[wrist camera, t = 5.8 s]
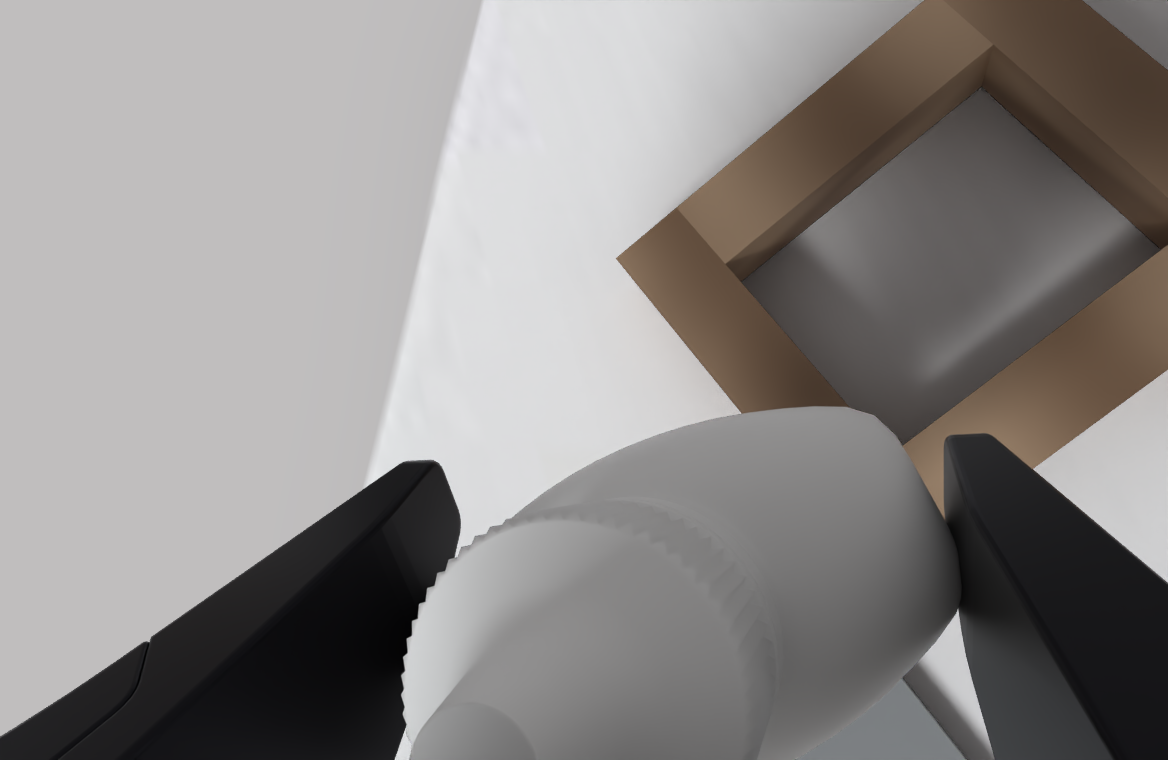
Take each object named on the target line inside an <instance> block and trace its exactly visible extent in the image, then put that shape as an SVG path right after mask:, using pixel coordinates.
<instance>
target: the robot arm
mask: <svg viewBox="0 0 1168 760" xmlns="http://www.w3.org/2000/svg"><path fill="white" fill-rule="evenodd" d="M944 513H945V521H946V523H947V525H948V528H949V530H950V532H951V534H952V536H953V539H954V541H955V544H956V547H957V551H958V556H959V565H960V574H961V582H962V593H961V600H960V603H959V606H958V610H959V617H960V624H961V631H962V636H963V642H964V647H965V653H966V657H967V661H968V665H969V669H970V673H971V677H972V681H973V684H974V688H975V691H976V695H977V698H978V702H979V705H980V709H981V712H982V716H983V719H984V723H985V726H986V729H987V733H988V736H989V740H990V743H991V747H992V750H993V754H994V757H995V760H1168V583H1167V582H1166V581H1165V580H1164V579H1163V578H1161V577H1160V576H1159V575H1158V574H1157V573H1155V572H1154V571H1153V570H1152V569H1151V568H1149V567H1148V566H1147V565H1146V564H1145V563H1144V562H1142V561H1141V560H1140V559H1139V558H1138V557H1136V556H1135V555H1134V554H1133V553H1132V552H1130V551H1129V550H1128V549H1127V548H1126V547H1125V546H1123V545H1122V544H1121V543H1120V542H1119V541H1117V540H1116V539H1115V538H1114V537H1113V536H1111V535H1110V534H1109V533H1108V532H1107V531H1105V530H1104V529H1103V528H1102V527H1101V526H1100V525H1098V524H1097V523H1096V522H1095V521H1094V520H1092V519H1091V518H1090V517H1089V516H1088V515H1086V514H1085V513H1084V512H1083V511H1082V510H1081V509H1079V508H1078V507H1077V506H1076V505H1075V504H1073V503H1072V502H1071V501H1070V500H1069V499H1067V498H1066V497H1065V496H1064V495H1063V494H1062V493H1060V492H1059V491H1058V490H1057V489H1056V488H1054V487H1053V486H1052V485H1051V484H1050V483H1048V482H1047V481H1046V480H1045V479H1044V478H1043V477H1041V476H1040V475H1039V474H1038V473H1037V472H1035V471H1034V470H1033V469H1032V468H1031V467H1029V466H1028V465H1027V464H1026V463H1025V462H1024V461H1022V460H1021V459H1020V458H1019V457H1018V456H1016V455H1015V454H1014V453H1013V452H1012V451H1010V450H1009V449H1008V448H1007V447H1006V446H1004V445H1003V444H1002V443H1001V442H1000V441H999V440H997V439H996V438H995V437H994V436H992V435H990V434H987V433H975V434H955V435H949V436H948V437H946V439H945V441H944ZM460 529H461V519H460V514H459V510H458V507H457V505H456V502H455V499H454V497H453V494H452V492H451V489H450V486H449V484H448V481H447V478H446V476H445V473H444V471H443V469H442V467H441V465H440V464H439V463H438V462H436V461H434V460H417V461H405V462H402V463H401V464H399V465H398V466H396V467H395V468H393V469H392V470H390V471H389V472H388V473H386V474H385V475H383V476H382V477H380V478H379V479H378V480H376V481H375V482H373V483H372V484H370V485H369V486H367V487H366V488H365V489H363V490H362V491H361V492H359V493H357V494H356V495H355V496H353V497H352V498H350V499H349V500H347V501H346V502H344V503H343V504H342V505H340V506H339V507H337V508H336V509H334V510H333V511H332V512H330V513H329V514H327V515H326V516H324V517H323V518H321V519H320V520H319V521H317V522H316V523H314V524H313V525H312V526H310V527H309V528H307V529H306V530H304V531H303V532H302V533H300V534H298V535H297V536H296V537H294V538H293V539H291V540H290V541H288V542H287V543H286V544H284V545H283V546H281V547H280V548H278V549H277V550H275V551H274V552H273V553H271V554H270V555H268V556H267V557H265V558H264V559H263V560H261V561H260V562H258V563H257V564H255V565H254V566H253V567H251V568H250V569H248V570H247V571H245V572H244V573H243V574H241V575H240V576H238V577H237V578H235V579H234V580H232V581H231V582H229V583H228V584H227V585H225V586H224V587H222V588H221V589H219V590H218V591H217V592H215V593H214V594H212V595H211V596H209V597H208V598H206V599H205V600H204V601H202V602H201V603H199V604H198V605H197V606H195V607H194V608H192V609H191V610H189V611H188V612H186V613H185V614H183V615H182V616H181V617H179V618H178V619H176V620H175V621H173V622H172V623H171V624H169V625H168V626H166V627H165V628H163V629H162V630H160V631H159V632H158V633H156V634H155V635H153V636H152V637H151V639H150V642H143V643H141V644H140V645H139V646H137V647H136V648H134V649H133V650H131V651H130V652H129V653H127V654H126V655H124V656H123V657H121V658H120V659H119V660H117V661H116V662H114V663H113V664H111V665H110V666H108V667H107V668H105V669H104V670H102V671H101V672H99V673H98V674H97V675H95V676H94V677H92V678H91V679H89V680H88V681H86V682H85V683H83V684H82V685H80V686H79V687H77V688H76V689H74V690H73V691H71V692H70V693H68V694H67V695H65V696H64V697H62V698H61V699H59V700H57V701H56V702H54V703H53V704H51V705H50V706H48V707H46V708H45V709H44V710H42V711H40V712H39V713H37V714H35V715H34V716H33V717H31V718H29V719H28V720H26V721H24V722H23V723H21V724H20V725H18V726H17V727H15V728H13V729H12V730H10V731H9V732H7V733H5V734H4V735H2V736H0V760H395V757H396V754H397V751H398V748H399V745H400V742H401V739H402V737H403V734H404V731H405V728H406V725H407V724H406V722H405V719H404V717H403V711H404V708H405V706H404V703H403V700H402V697H401V694H402V692H403V690H404V686H403V682H402V677H401V675H402V674H403V673H404V672H405V666H404V660H403V657H404V656H405V655H406V654H407V653H408V649H407V638H409V637H411V636H412V621H413V620H416V619H418V610H419V604H420V603H423V602H426V594H427V588H429V587H432V586H435V582H436V577H437V573H439V572H443V571H445V570H446V567H447V563H448V560H449V559H452V558H454V557H455V553H456V548H457V544H458V540H459V535H460Z"/></svg>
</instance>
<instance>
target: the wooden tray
mask: <svg viewBox="0 0 1168 760" xmlns="http://www.w3.org/2000/svg"><path fill="white" fill-rule="evenodd" d="M980 87H982V88H983V89H985V90H986V91H987V92H988V93H989V94H990V95H991V96H992V97H993V98H994V99H996V100H997V101H998V102H999V103H1000V104H1001V105H1002V106H1003V107H1004V108H1005V109H1007V110H1008V111H1009V112H1010V113H1011V114H1012V115H1013V116H1014V117H1015V118H1017V119H1018V120H1019V121H1020V122H1021V123H1022V124H1023V125H1024V126H1025V127H1026V128H1028V129H1029V130H1030V131H1031V132H1032V133H1033V134H1034V135H1035V136H1036V137H1037V138H1039V139H1040V140H1041V141H1042V142H1043V143H1044V144H1045V145H1046V146H1047V147H1049V148H1050V149H1051V150H1052V151H1053V152H1054V153H1055V154H1056V155H1057V156H1058V157H1060V158H1061V159H1062V160H1063V161H1064V162H1065V163H1066V164H1067V165H1068V166H1069V167H1071V168H1072V169H1073V170H1074V171H1075V172H1076V173H1077V174H1078V175H1079V176H1081V177H1082V178H1083V179H1084V180H1085V181H1086V182H1087V183H1088V184H1089V185H1090V186H1092V187H1093V188H1094V189H1095V190H1096V191H1097V192H1098V193H1099V194H1100V195H1101V196H1103V197H1104V198H1105V199H1106V200H1107V201H1108V202H1109V203H1110V204H1111V205H1113V206H1114V207H1115V208H1116V209H1117V210H1118V211H1119V212H1120V213H1121V214H1122V215H1124V216H1125V217H1126V218H1127V219H1128V220H1129V221H1130V222H1131V223H1132V224H1133V225H1135V226H1136V227H1137V228H1138V229H1139V230H1140V231H1141V232H1142V233H1143V234H1144V235H1146V236H1147V237H1148V238H1149V239H1150V240H1151V241H1152V242H1153V243H1154V244H1156V245H1157V246H1158V247H1159V248H1160V249H1161V250H1160V251H1159V252H1158V253H1156V254H1155V255H1154V256H1152V257H1151V258H1150V259H1148V260H1147V261H1146V262H1145V263H1143V264H1142V265H1141V266H1139V267H1138V268H1137V269H1135V270H1134V271H1133V272H1131V273H1130V274H1129V275H1127V276H1126V277H1125V278H1123V279H1122V280H1121V281H1119V282H1118V283H1117V284H1115V285H1114V286H1113V287H1112V288H1110V289H1109V290H1108V291H1106V292H1105V293H1104V294H1102V295H1101V296H1100V297H1098V298H1097V299H1096V300H1094V301H1093V302H1092V303H1090V304H1089V305H1088V306H1086V307H1085V308H1084V309H1083V310H1081V311H1080V312H1079V313H1077V314H1076V315H1075V316H1073V317H1072V318H1071V319H1069V320H1068V321H1067V322H1065V323H1064V324H1063V325H1061V326H1060V327H1059V328H1057V329H1056V330H1055V331H1053V332H1052V333H1051V334H1050V335H1048V336H1047V337H1046V338H1044V339H1043V340H1042V341H1040V342H1039V343H1038V344H1036V345H1035V346H1034V347H1032V348H1031V349H1030V350H1028V351H1027V352H1026V353H1024V354H1023V355H1022V356H1020V357H1019V358H1018V359H1017V360H1015V361H1014V362H1013V363H1011V364H1010V365H1009V366H1007V367H1006V368H1005V369H1003V370H1002V371H1001V372H999V373H998V374H997V375H995V376H994V377H993V378H991V379H990V380H989V381H987V382H986V383H985V384H984V385H982V386H981V387H980V388H978V389H977V390H976V391H974V392H973V393H972V394H970V395H969V396H968V397H966V398H965V399H964V400H962V401H961V402H960V403H958V404H957V405H956V406H954V407H953V408H952V409H951V410H949V411H948V412H947V413H945V414H944V415H943V416H941V417H940V418H939V419H937V420H936V421H935V422H933V423H932V424H931V425H929V426H928V427H927V428H925V429H924V430H923V431H922V432H920V433H919V434H918V435H916V436H915V437H914V438H912V439H911V440H910V441H908V442H907V443H906V444H904V445H903V448H904V449H905V451H906V453H907V454H908V456H909V457H910V459H911V461H912V462H913V464H914V466H915V468H916V469H917V471H918V473H919V475H920V476H921V478H922V480H923V482H924V483H925V485H926V487H927V489H928V491H929V492H930V494H931V496H932V498H933V500H934V501H935V503H936V505H937V507H938V509H939V511H940V512H941V514H942V516H943V518H944V520H945V513H944V441H945V439H946V437H948V436H949V435H955V434H975V433H987V434H990V435H992V436H994V437H995V438H996V439H997V440H999V441H1000V442H1001V443H1002V444H1003V445H1004V446H1006V447H1007V448H1008V449H1009V450H1010V451H1012V452H1013V453H1014V454H1015V455H1016V456H1018V457H1019V458H1020V459H1021V460H1022V461H1024V462H1025V463H1026V464H1027V465H1028V466H1029V467H1031V468H1032V469H1033V468H1035V467H1036V466H1037V465H1039V464H1040V463H1041V462H1043V461H1044V460H1046V459H1047V458H1048V457H1050V456H1051V455H1052V454H1054V453H1055V452H1056V451H1058V450H1059V449H1060V448H1062V447H1063V446H1065V445H1066V444H1067V443H1069V442H1070V441H1071V440H1073V439H1074V438H1075V437H1077V436H1078V435H1079V434H1081V433H1082V432H1084V431H1085V430H1086V429H1088V428H1089V427H1090V426H1092V425H1093V424H1094V423H1096V422H1097V421H1099V420H1100V419H1101V418H1103V417H1104V416H1105V415H1107V414H1108V413H1109V412H1111V411H1112V410H1113V409H1115V408H1116V407H1118V406H1119V405H1120V404H1122V403H1123V402H1124V401H1126V400H1127V399H1128V398H1130V397H1131V396H1132V395H1134V394H1135V393H1137V392H1138V391H1139V390H1141V389H1142V388H1143V387H1145V386H1146V385H1147V384H1149V383H1150V382H1152V381H1153V380H1154V379H1156V378H1157V377H1158V376H1160V375H1161V374H1162V373H1164V372H1165V371H1166V370H1168V70H1167V69H1166V68H1164V67H1163V66H1162V65H1161V64H1159V63H1158V62H1157V61H1156V60H1155V59H1153V58H1152V57H1151V56H1150V55H1148V54H1147V53H1146V52H1145V51H1144V50H1142V49H1141V48H1140V47H1139V46H1137V45H1136V44H1135V43H1134V42H1133V41H1131V40H1130V39H1129V38H1128V37H1126V36H1125V35H1124V34H1123V33H1122V32H1120V31H1119V30H1118V29H1117V28H1115V27H1114V26H1113V25H1112V24H1111V23H1109V22H1108V21H1107V20H1106V19H1104V18H1103V17H1102V16H1101V15H1100V14H1098V13H1097V12H1096V11H1095V10H1093V9H1092V8H1091V7H1090V6H1089V5H1087V4H1086V3H1085V2H1084V1H1082V0H924V1H923V2H922V3H921V4H919V5H918V6H917V7H916V8H915V9H913V10H912V11H911V12H910V13H909V14H907V15H906V16H905V17H904V18H903V19H901V20H900V21H899V22H898V23H897V24H895V25H894V26H893V27H892V28H891V29H890V30H888V31H887V32H886V33H885V34H884V35H882V36H881V37H880V38H879V39H878V40H876V41H875V42H874V43H873V44H872V45H870V46H869V47H868V48H867V49H866V50H864V51H863V52H862V53H861V54H860V55H858V56H857V57H856V58H855V59H854V60H852V61H851V62H850V63H849V64H848V65H846V66H845V67H844V68H843V69H842V70H841V71H839V72H838V73H837V74H836V75H835V76H833V77H832V78H831V79H830V80H829V81H827V82H826V83H825V84H824V85H823V86H821V87H820V88H819V89H818V90H817V91H815V92H814V93H813V94H812V95H811V96H809V97H808V98H807V99H806V100H805V101H803V102H802V103H801V104H800V105H799V106H797V107H796V108H795V109H794V110H793V111H792V112H790V113H789V114H788V115H787V116H786V117H784V118H783V119H782V120H781V121H780V122H778V123H777V124H776V125H775V126H774V127H772V128H771V129H770V130H769V131H768V132H766V133H765V134H764V135H763V136H762V137H760V138H759V139H758V140H757V141H756V142H754V143H753V144H752V145H751V146H750V147H748V148H747V149H746V150H745V151H744V152H742V153H741V154H740V155H739V156H738V157H737V158H735V159H734V160H733V161H732V162H731V163H729V164H728V165H727V166H726V167H725V168H723V169H722V170H721V171H720V172H719V173H717V174H716V175H715V176H714V177H713V178H711V179H710V180H709V181H708V182H707V183H705V184H704V185H703V186H702V187H701V188H699V189H698V190H697V191H696V192H695V193H693V194H692V195H691V196H690V197H689V198H688V199H686V200H685V201H684V202H683V203H682V204H680V205H679V206H678V207H677V208H676V209H674V210H673V211H672V212H671V213H670V214H668V215H667V216H666V217H665V218H664V219H662V220H661V221H660V222H659V223H658V224H656V225H655V226H654V227H653V228H652V229H650V230H649V231H648V232H647V233H646V234H644V235H643V236H642V237H641V238H640V239H639V240H637V241H636V242H635V243H634V244H633V245H631V246H630V247H629V248H628V249H627V250H625V251H624V252H623V253H622V254H621V255H619V256H618V257H617V258H616V259H617V260H618V262H619V263H620V264H621V265H622V267H623V268H624V269H625V270H626V271H627V273H628V274H629V275H630V276H631V278H632V279H633V280H634V281H635V283H636V284H637V285H638V286H639V287H640V289H641V290H642V291H643V292H644V294H645V295H646V296H647V297H648V299H649V300H650V301H651V302H652V303H653V305H654V306H655V307H656V308H657V310H658V311H659V312H660V313H661V315H662V316H663V317H664V318H665V319H666V321H667V322H668V323H669V324H670V326H671V327H672V328H673V329H674V331H675V332H676V333H677V334H678V335H679V337H680V338H681V339H682V340H683V342H684V343H685V344H686V345H687V347H688V348H689V349H690V350H691V351H692V353H693V354H694V355H695V356H696V358H697V359H698V360H699V361H700V363H701V364H702V365H703V366H704V367H705V369H706V370H707V371H708V372H709V374H710V375H711V376H712V377H713V379H714V380H715V381H716V382H717V383H718V385H719V386H720V387H721V388H722V390H723V391H724V392H725V393H726V395H727V396H728V397H729V398H730V399H731V401H732V402H733V403H734V404H735V406H736V407H737V408H738V409H739V411H740V412H741V413H742V414H743V413H750V412H758V411H766V410H774V409H783V408H797V407H811V406H826V407H848V408H850V407H849V406H848V405H847V404H846V403H845V401H844V400H843V399H842V398H841V397H840V396H839V394H838V393H837V392H836V391H835V390H834V389H833V388H832V386H831V385H830V384H829V383H828V382H827V381H826V379H825V378H824V377H823V376H822V375H821V374H820V373H819V371H818V370H817V369H816V368H815V367H814V366H813V364H812V363H811V362H810V361H809V360H808V359H807V358H806V356H805V355H804V354H803V353H802V352H801V351H800V350H799V348H798V347H797V346H796V345H795V344H794V343H793V341H792V340H791V339H790V338H789V337H788V336H787V335H786V333H785V332H784V331H783V330H782V329H781V328H780V326H779V325H778V324H777V323H776V322H775V321H774V320H773V318H772V317H771V316H770V315H769V314H768V313H767V311H766V310H765V309H764V308H763V307H762V306H761V305H760V303H759V302H758V301H757V300H756V299H755V298H754V296H753V295H752V294H751V293H750V292H749V291H748V290H747V288H746V287H745V286H744V285H743V284H742V283H741V281H743V280H744V279H745V278H746V277H748V276H749V275H750V274H751V273H752V272H754V271H755V270H756V269H757V268H759V267H760V266H761V265H762V264H764V263H765V262H766V261H767V260H768V259H770V258H771V257H772V256H773V255H775V254H776V253H777V252H778V251H780V250H781V249H782V248H783V247H784V246H786V245H787V244H788V243H789V242H791V241H792V240H793V239H794V238H796V237H797V236H798V235H799V234H800V233H802V232H803V231H804V230H805V229H807V228H808V227H809V226H810V225H812V224H813V223H814V222H815V221H816V220H818V219H819V218H820V217H821V216H823V215H824V214H825V213H826V212H828V211H829V210H830V209H831V208H832V207H834V206H835V205H836V204H837V203H839V202H840V201H841V200H842V199H844V198H845V197H846V196H847V195H848V194H850V193H851V192H852V191H853V190H855V189H856V188H857V187H858V186H860V185H861V184H862V183H863V182H864V181H866V180H867V179H868V178H869V177H871V176H872V175H873V174H874V173H876V172H877V171H878V170H879V169H880V168H882V167H883V166H884V165H885V164H887V163H888V162H889V161H890V160H892V159H893V158H894V157H895V156H896V155H898V154H899V153H900V152H901V151H903V150H904V149H905V148H906V147H908V146H909V145H910V144H911V143H912V142H914V141H915V140H916V139H917V138H919V137H920V136H921V135H922V134H924V133H925V132H926V131H927V130H928V129H930V128H931V127H932V126H933V125H935V124H936V123H937V122H938V121H940V120H941V119H942V118H943V117H944V116H946V115H947V114H948V113H949V112H951V111H952V110H953V109H954V108H956V107H957V106H958V105H959V104H960V103H962V102H963V101H964V100H965V99H967V98H968V97H969V96H970V95H972V94H973V93H974V92H975V91H976V90H978V89H979V88H980Z"/></svg>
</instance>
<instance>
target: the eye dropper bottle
mask: <svg viewBox="0 0 1168 760" xmlns="http://www.w3.org/2000/svg"><path fill="white" fill-rule="evenodd" d="M961 593H962V582H961V574H960V565H959V556H958V551H957V547H956V544H955V541H954V539H953V536H952V534H951V532H950V530H949V528H948V525H947V523H946V521H945V520H944V518H943V516H942V514H941V512H940V511H939V509H938V507H937V505H936V503H935V501H934V500H933V498H932V496H931V494H930V492H929V491H928V489H927V487H926V485H925V483H924V482H923V480H922V478H921V476H920V475H919V473H918V471H917V469H916V468H915V466H914V464H913V462H912V461H911V459H910V457H909V456H908V454H907V453H906V451H905V449H904V448H903V446H902V445H901V443H900V441H899V440H898V438H897V437H896V435H895V434H894V433H893V432H892V431H891V430H890V429H888V428H887V427H886V426H885V425H884V424H883V423H882V422H881V421H880V420H879V419H878V418H877V417H876V416H875V415H872V414H868V413H865V412H862V411H858V410H855V409H852V408H848V407H826V406H811V407H797V408H783V409H774V410H766V411H758V412H750V413H743V414H738V415H732V416H727V417H721V418H716V419H712V420H708V421H704V422H700V423H696V424H692V425H688V426H684V427H681V428H678V429H675V430H671V431H668V432H665V433H662V434H659V435H656V436H653V437H651V438H648V439H646V440H643V441H640V442H638V443H635V444H633V445H630V446H628V447H625V448H623V449H621V450H618V451H616V452H614V453H612V454H610V455H608V456H606V457H604V458H601V459H599V460H597V461H595V462H593V463H592V464H590V465H588V466H586V467H584V468H583V469H581V470H579V471H577V472H575V473H574V474H572V475H570V476H569V477H567V478H565V479H564V480H562V481H561V482H559V483H558V484H556V485H555V486H553V487H552V488H550V489H549V490H547V491H546V492H544V493H543V494H542V495H540V496H539V497H538V498H536V499H535V500H534V501H532V502H531V503H530V504H528V505H527V506H526V507H524V508H523V509H522V510H521V511H519V512H518V513H517V514H516V515H515V516H514V517H512V518H511V519H506V520H505V522H504V523H503V525H498V526H492V527H490V528H489V530H488V532H487V534H484V535H479V536H475V537H474V540H473V542H472V544H471V545H468V546H464V547H461V549H460V552H459V555H458V557H456V558H452V559H449V560H448V563H447V567H446V570H445V571H443V572H439V573H437V577H436V582H435V586H432V587H429V588H427V594H426V602H423V603H420V604H419V610H418V619H416V620H413V621H412V636H411V637H409V638H407V649H408V653H407V654H406V655H405V656H404V657H403V660H404V666H405V672H404V673H403V674H402V675H401V677H402V682H403V686H404V690H403V692H402V694H401V697H402V700H403V703H404V706H405V708H404V711H403V717H404V719H405V722H406V724H407V729H406V735H407V737H408V739H409V741H410V743H411V754H410V759H409V760H795V759H797V758H799V757H801V756H803V755H804V754H806V753H807V752H809V751H810V750H812V749H814V748H815V747H817V746H818V745H820V744H821V743H823V742H825V741H826V740H828V739H829V738H831V737H832V736H834V735H835V734H837V733H838V732H839V731H841V730H842V729H843V728H845V727H846V726H848V725H849V724H850V723H852V722H853V721H854V720H856V719H857V718H858V717H860V716H861V715H862V714H863V713H865V712H866V711H867V710H868V709H869V708H870V707H871V706H873V705H874V704H875V703H876V702H877V701H878V700H879V699H881V698H882V697H883V696H884V695H885V694H886V693H887V692H888V691H889V690H890V689H891V688H892V687H893V686H894V685H895V684H896V683H897V682H898V681H899V680H900V679H901V678H902V677H903V676H904V675H905V674H906V673H907V672H908V671H910V670H911V669H912V668H913V667H914V666H915V664H916V663H917V662H918V661H919V660H920V659H921V658H922V657H923V655H924V654H925V653H926V652H927V651H928V650H929V649H930V648H931V646H932V645H933V644H934V643H935V642H936V641H937V639H938V638H939V637H940V635H941V634H942V632H943V631H944V630H945V628H946V627H947V625H948V624H949V623H950V621H951V620H952V618H953V617H954V616H955V614H956V612H957V609H958V606H959V603H960V600H961Z"/></svg>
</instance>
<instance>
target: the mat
mask: <svg viewBox="0 0 1168 760" xmlns="http://www.w3.org/2000/svg"><path fill="white" fill-rule="evenodd" d="M795 760H967V758H966V757H965V756H964V755H963V753H962V752H961V751H960V750H959V748H958V747H957V746H956V745H955V743H954V742H953V741H952V739H951V738H950V737H949V736H948V734H947V733H946V732H945V731H944V729H943V728H942V727H941V726H940V724H939V723H938V722H937V720H936V719H935V718H934V717H933V715H932V714H931V713H930V712H929V710H928V709H927V708H926V707H925V705H924V704H923V703H922V701H921V700H920V699H919V698H918V696H917V695H916V694H915V693H914V691H913V690H912V689H911V688H910V686H909V685H908V684H907V682H906V681H905V680H904V679H903V677H902V678H901V679H900V680H899V681H898V682H897V683H896V684H895V685H894V686H893V687H892V688H891V689H890V690H889V691H888V692H887V693H886V694H885V695H884V696H883V697H882V698H881V699H879V700H878V701H877V702H876V703H875V704H874V705H873V706H871V707H870V708H869V709H868V710H867V711H866V712H865V713H863V714H862V715H861V716H860V717H858V718H857V719H856V720H854V721H853V722H852V723H850V724H849V725H848V726H846V727H845V728H843V729H842V730H841V731H839V732H838V733H837V734H835V735H834V736H832V737H831V738H829V739H828V740H826V741H825V742H823V743H821V744H820V745H818V746H817V747H815V748H814V749H812V750H810V751H809V752H807V753H806V754H804V755H803V756H801V757H799V758H797V759H795Z"/></svg>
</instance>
